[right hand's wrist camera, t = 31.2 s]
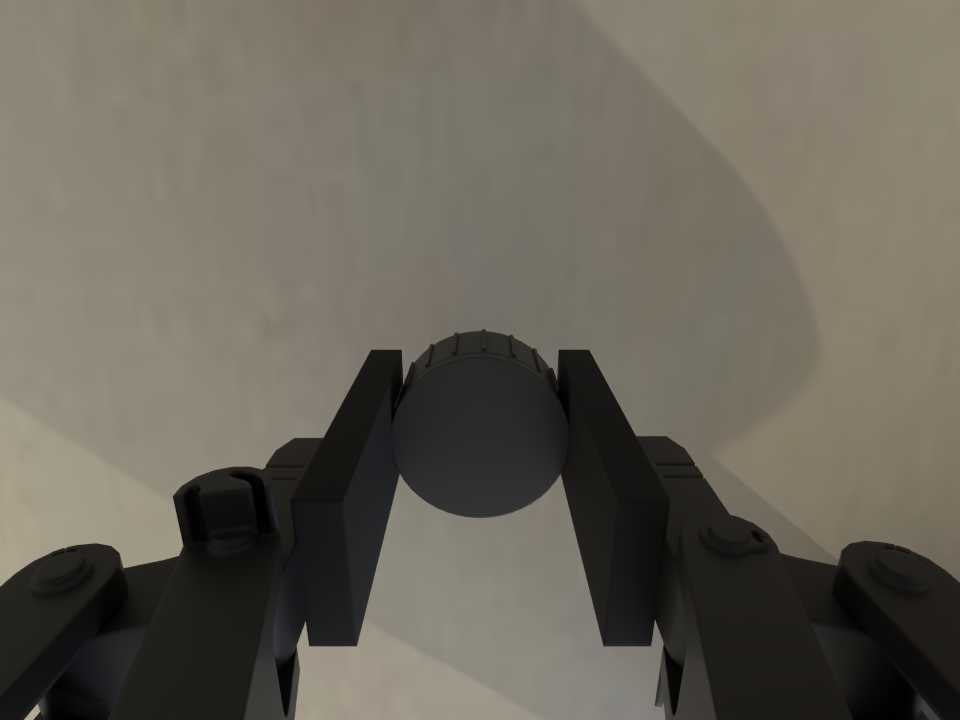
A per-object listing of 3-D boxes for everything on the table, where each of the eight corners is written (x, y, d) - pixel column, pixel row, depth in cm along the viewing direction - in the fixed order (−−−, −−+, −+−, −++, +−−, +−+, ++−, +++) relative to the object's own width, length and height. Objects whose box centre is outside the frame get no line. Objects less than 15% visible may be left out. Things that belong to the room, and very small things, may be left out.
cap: (594, 405, 15) (611, 442, 13) (480, 503, 16) (480, 550, 14) (480, 293, 14) (481, 316, 12) (365, 405, 15) (349, 442, 13)
